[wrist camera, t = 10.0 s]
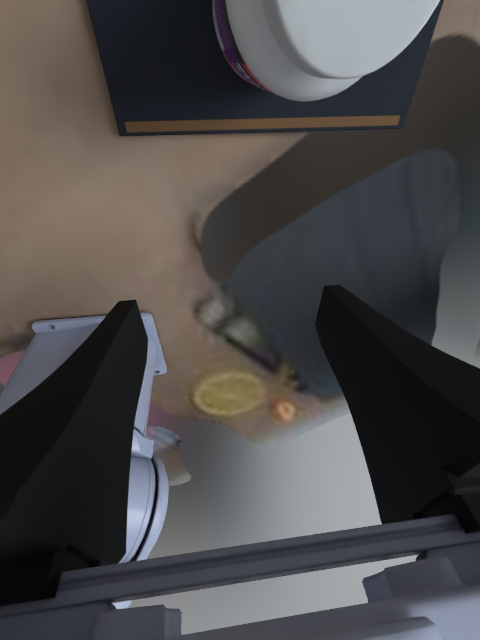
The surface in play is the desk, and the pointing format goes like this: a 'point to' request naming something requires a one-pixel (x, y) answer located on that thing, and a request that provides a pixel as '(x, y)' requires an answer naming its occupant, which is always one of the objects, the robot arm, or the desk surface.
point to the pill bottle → (314, 41)
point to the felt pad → (227, 77)
